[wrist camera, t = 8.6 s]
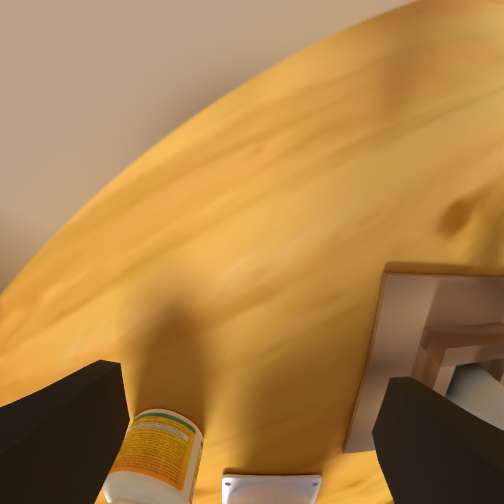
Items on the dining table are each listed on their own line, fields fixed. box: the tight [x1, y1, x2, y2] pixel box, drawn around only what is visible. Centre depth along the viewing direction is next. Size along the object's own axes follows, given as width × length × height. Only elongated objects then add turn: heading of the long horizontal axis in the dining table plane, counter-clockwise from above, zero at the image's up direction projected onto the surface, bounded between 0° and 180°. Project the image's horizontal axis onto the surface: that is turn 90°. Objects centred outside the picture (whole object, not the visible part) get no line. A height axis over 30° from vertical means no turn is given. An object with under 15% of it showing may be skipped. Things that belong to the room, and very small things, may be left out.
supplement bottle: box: [103, 409, 203, 504], centre depth 16 cm, size 5×5×10 cm
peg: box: [445, 362, 504, 430], centre depth 14 cm, size 3×3×10 cm
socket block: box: [342, 272, 504, 453], centre depth 17 cm, size 14×14×4 cm
